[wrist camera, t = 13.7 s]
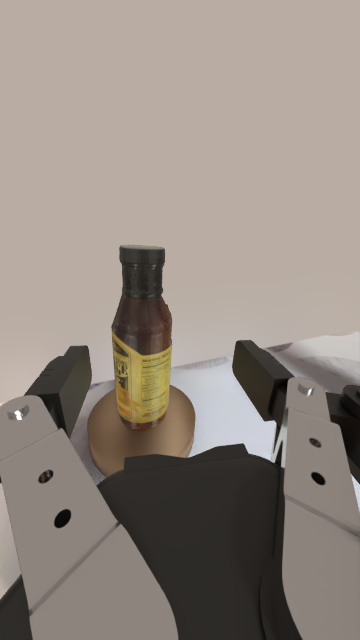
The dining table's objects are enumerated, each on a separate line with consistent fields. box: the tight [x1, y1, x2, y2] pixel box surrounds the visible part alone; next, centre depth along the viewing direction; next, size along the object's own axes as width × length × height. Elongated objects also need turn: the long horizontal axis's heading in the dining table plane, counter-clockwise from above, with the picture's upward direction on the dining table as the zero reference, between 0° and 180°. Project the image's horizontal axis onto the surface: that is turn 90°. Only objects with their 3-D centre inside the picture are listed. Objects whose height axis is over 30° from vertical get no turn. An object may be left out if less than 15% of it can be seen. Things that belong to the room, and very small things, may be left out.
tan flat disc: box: [87, 385, 195, 477], centre depth 26 cm, size 13×13×3 cm
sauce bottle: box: [112, 245, 172, 430], centre depth 22 cm, size 6×6×20 cm
